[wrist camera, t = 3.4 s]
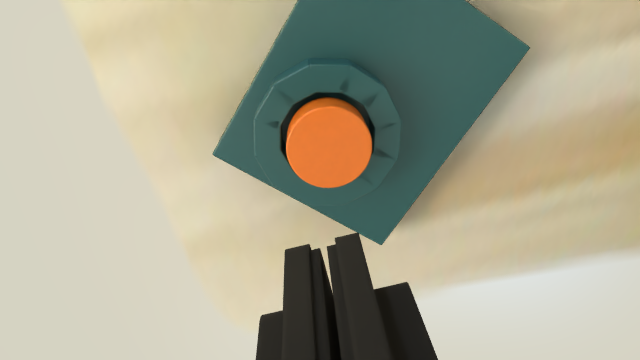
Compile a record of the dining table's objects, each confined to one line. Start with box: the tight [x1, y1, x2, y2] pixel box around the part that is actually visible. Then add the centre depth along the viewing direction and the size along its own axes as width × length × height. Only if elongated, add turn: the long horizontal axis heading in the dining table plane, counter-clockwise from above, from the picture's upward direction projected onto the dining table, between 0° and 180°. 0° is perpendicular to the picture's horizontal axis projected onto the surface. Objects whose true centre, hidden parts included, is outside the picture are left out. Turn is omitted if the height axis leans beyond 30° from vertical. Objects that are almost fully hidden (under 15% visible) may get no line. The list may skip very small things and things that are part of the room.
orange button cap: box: [286, 97, 372, 188], centre depth 20 cm, size 4×4×2 cm
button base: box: [213, 0, 530, 245], centre depth 22 cm, size 12×10×4 cm
